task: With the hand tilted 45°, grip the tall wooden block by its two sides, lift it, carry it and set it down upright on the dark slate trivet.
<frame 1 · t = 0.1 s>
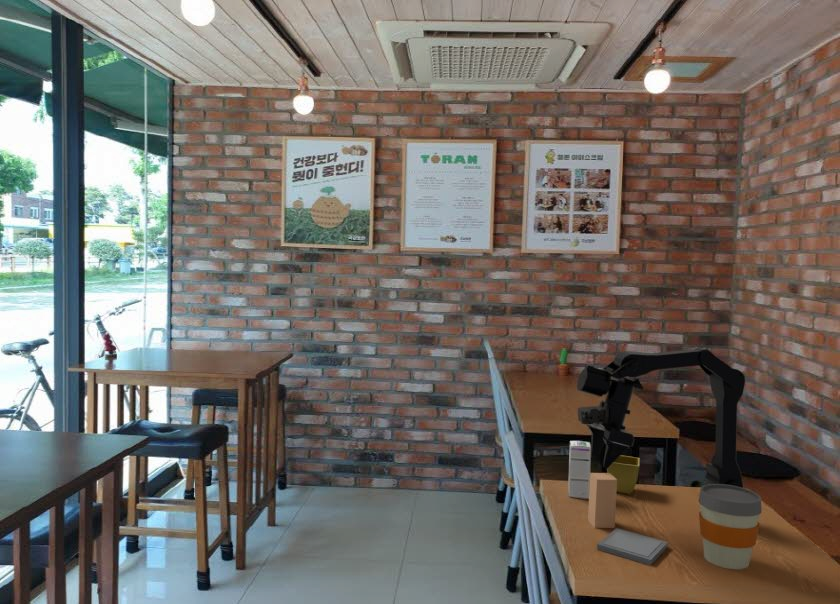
hand: (599, 461, 163), 15 cm above the table, tool pointing down, fingers open, 9 cm apart
block: (601, 523, 163), on the table
syrup box: (578, 495, 184), on the table
trivet: (632, 548, 150), on the table
reusable coffee cup: (726, 560, 145), on the table
flower pot: (621, 491, 189), on the table
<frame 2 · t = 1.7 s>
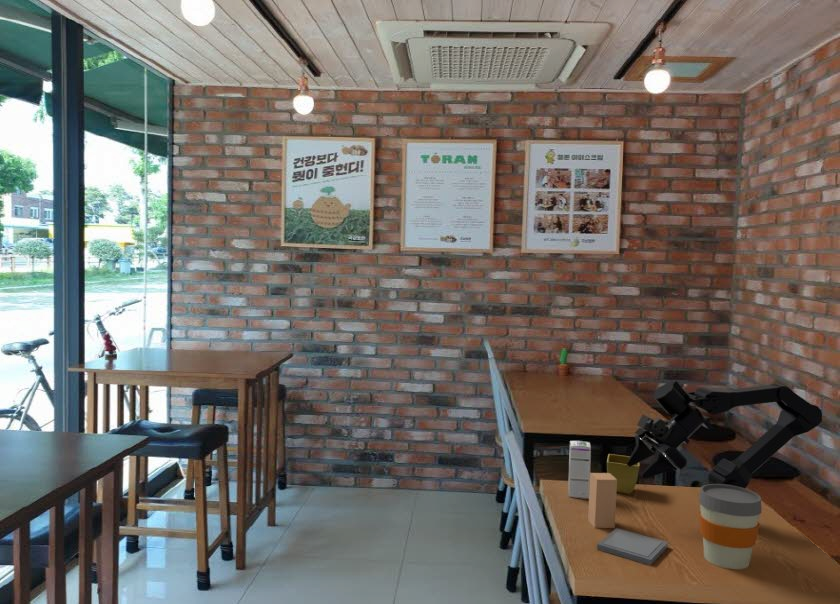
hand: (635, 471, 163), 13 cm above the table, tool tilted 45°, fingers open, 9 cm apart
nothing on the table moved.
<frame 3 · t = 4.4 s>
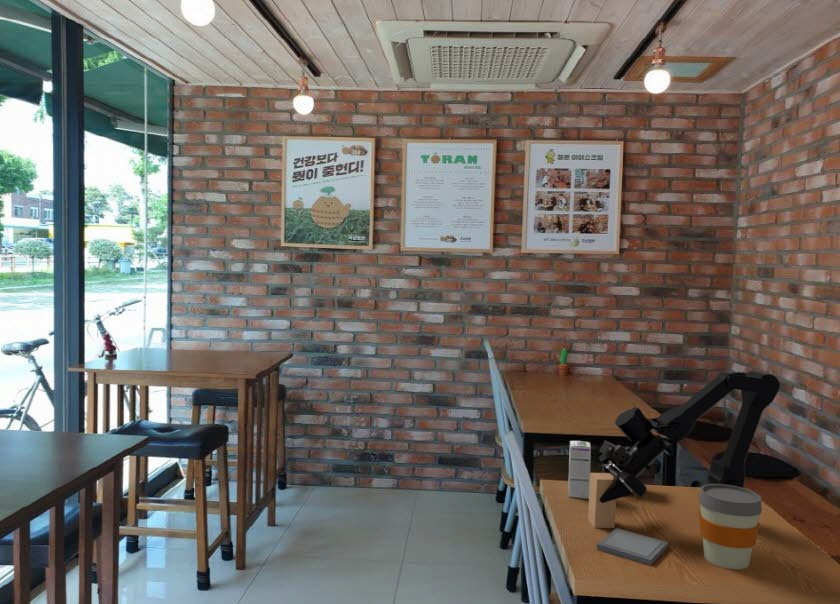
hand: (596, 497, 163), 7 cm above the table, tool tilted 45°, fingers closed on block, 5 cm apart
block: (601, 523, 163), on the table, touching gripper
everything else where it was.
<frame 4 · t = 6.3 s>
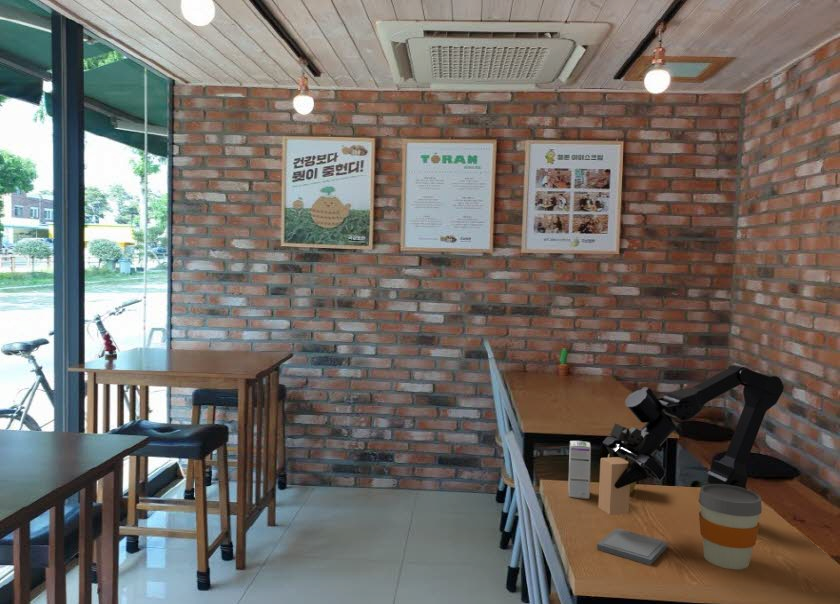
hand: (609, 483, 156), 12 cm above the table, tool tilted 45°, fingers closed on block, 5 cm apart
block: (613, 510, 157), point 6 cm above the table, touching gripper
everything else where it was.
when the fingers open (9 cm above the table, at t = 8.3 s): block stays where it is, resting on trivet.
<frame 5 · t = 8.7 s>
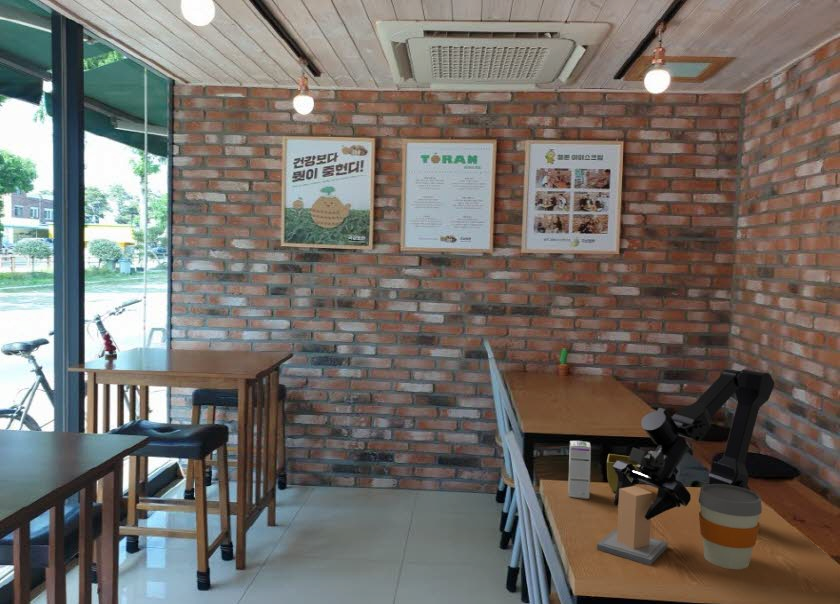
hand: (630, 511, 148), 9 cm above the table, tool tilted 45°, fingers open, 9 cm apart
block: (632, 542, 149), point 1 cm above the table, touching trivet
everything else where it was.
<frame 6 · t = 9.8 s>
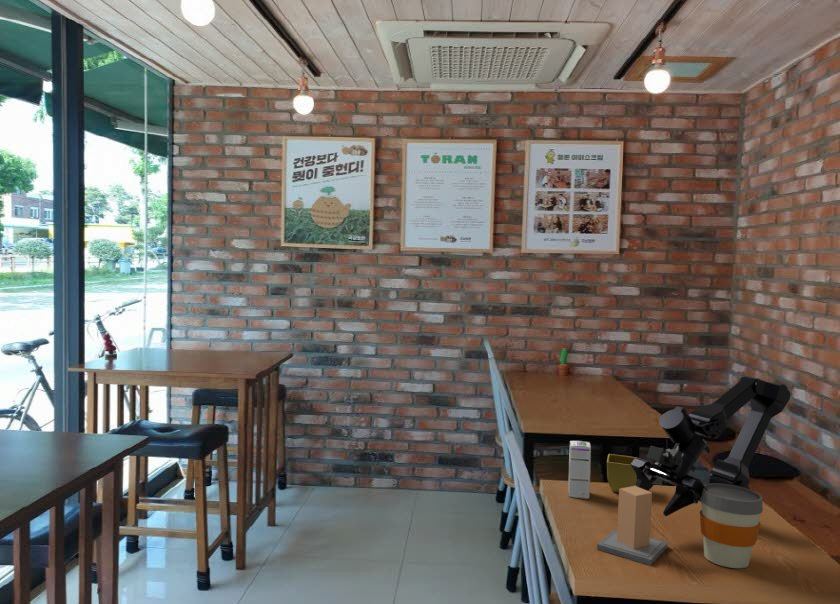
hand: (648, 508, 151), 9 cm above the table, tool tilted 45°, fingers open, 9 cm apart
reusable coffee cup: (726, 560, 145), on the table, touching gripper
everything else where it was.
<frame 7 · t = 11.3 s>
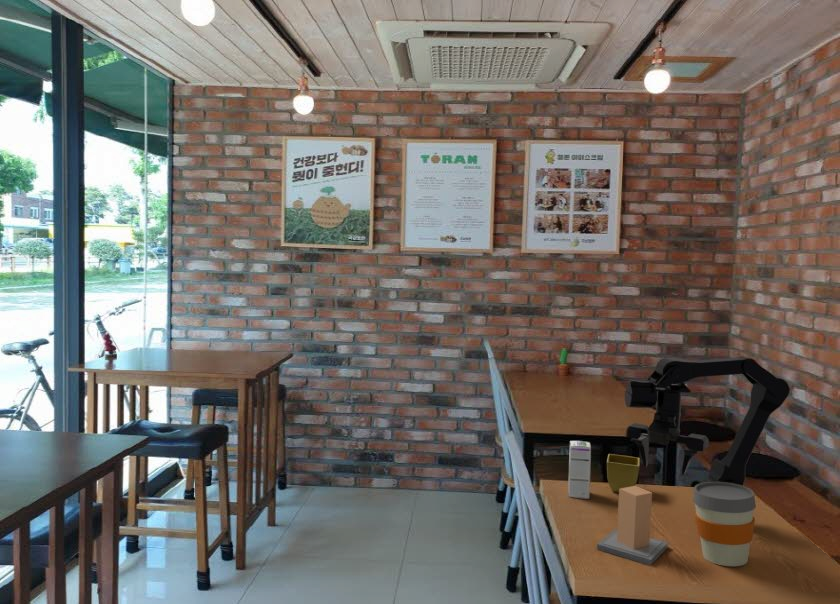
hand: (664, 470, 165), 13 cm above the table, tool pointing down, fingers open, 9 cm apart
reusable coffee cup: (725, 558, 146), on the table
everything else where it was.
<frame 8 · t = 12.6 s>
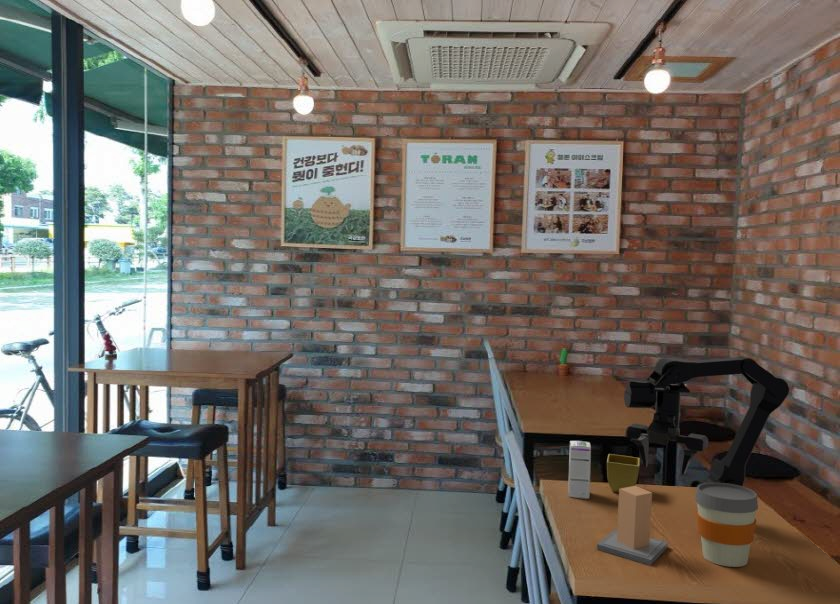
hand: (664, 470, 165), 13 cm above the table, tool pointing down, fingers open, 9 cm apart
nothing on the table moved.
at the end: block 0.0 cm from the trivet (horizontally); block tilted 0°; the gripper is holding nothing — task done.
